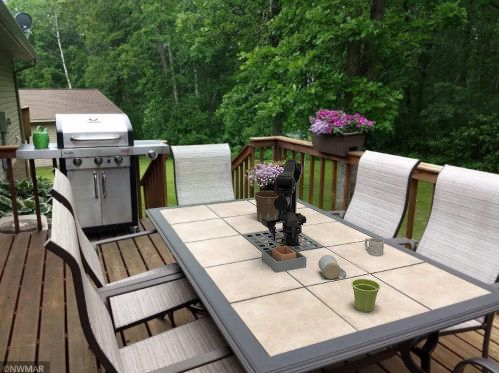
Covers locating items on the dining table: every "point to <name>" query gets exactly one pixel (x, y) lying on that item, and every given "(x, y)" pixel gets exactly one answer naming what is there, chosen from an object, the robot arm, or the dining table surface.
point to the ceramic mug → (330, 267)
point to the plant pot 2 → (365, 294)
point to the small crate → (283, 253)
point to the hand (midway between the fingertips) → (283, 239)
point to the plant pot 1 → (265, 205)
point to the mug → (375, 246)
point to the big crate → (286, 264)
